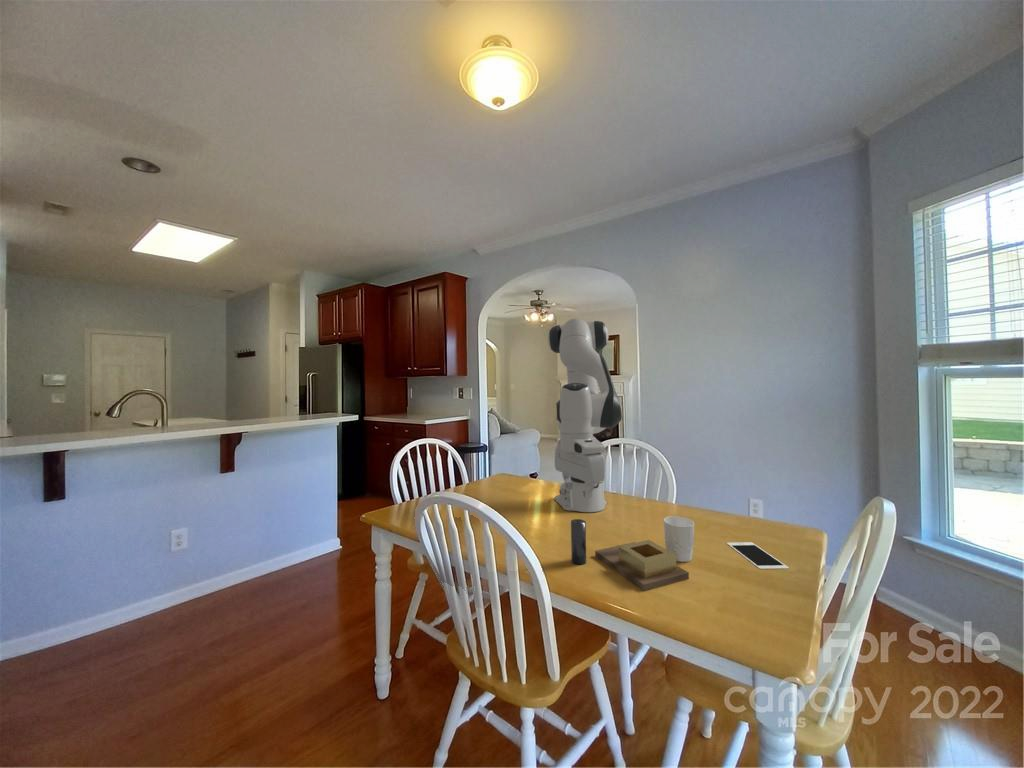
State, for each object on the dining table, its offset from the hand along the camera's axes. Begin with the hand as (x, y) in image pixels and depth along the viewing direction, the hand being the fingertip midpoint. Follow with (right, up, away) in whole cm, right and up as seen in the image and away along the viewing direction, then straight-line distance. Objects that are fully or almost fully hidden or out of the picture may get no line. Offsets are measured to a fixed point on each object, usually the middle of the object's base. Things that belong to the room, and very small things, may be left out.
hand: (578, 493), depth 108 cm
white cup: (+29, -19, +2) cm, 34 cm away
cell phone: (+50, -19, +3) cm, 54 cm away
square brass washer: (+17, -17, -6) cm, 25 cm away
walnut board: (+16, -19, -3) cm, 25 cm away
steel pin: (0, -19, 0) cm, 19 cm away
